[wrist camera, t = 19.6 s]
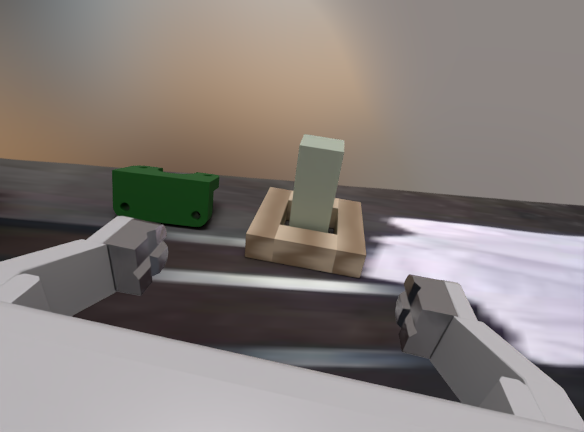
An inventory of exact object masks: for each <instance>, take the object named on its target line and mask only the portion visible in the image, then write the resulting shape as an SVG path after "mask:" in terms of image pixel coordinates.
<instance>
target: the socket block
mask: <svg viewBox="0 0 584 432" xmlns="http://www.w3.org/2000/svg"><path fill="white" fill-rule="evenodd" d="M292 199H293V191H290V190H284V189H278V188H273V187H270V189H269V191H268V193H267V195H266V197H265V199H264V201H263V202H262V204H261V206H260V208H259V210H258V212H257V214H256V216H255V218H254V220H253V222H252V224H251V225H250V227H249V229H248V231H247V233H246V246H245V257H248V258H254V259H259V260H264V261H270V262H275V263H281V264H286V265H291V266H297V267H302V268H307V269H313V270H318V271H324V272H329V273H334V274H340V275H345V276H350V277H356V278H360V275H361V272H362V268H363V265H364V261H365V258H366V249H365V240H364V230H363V221H362V211H361V202H355V201H349V200H343V199H338V198H335V199H334V204H333V209H332V214H331V219H330V224H329V228H334V234H330V233H324V232H319V231H313V230H308V229H302V228H296V227H291V226H285V225H284V224H285V221H286V220H289V221H290V214H291V206H292Z"/></svg>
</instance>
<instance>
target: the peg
mask: <svg viewBox="0 0 584 432" xmlns="http://www.w3.org/2000/svg"><path fill="white" fill-rule="evenodd" d="M343 155H344V140H338V139H331V138H324V137H319V136H312V135H304V137H303V139H302V141H301V143H300V147H299V154H298V162H297V169H296V177H295V184H294V191H293V199H292V206H291V214H290V222H289V226H291V227H296V228H302V229H308V230H313V231H319V232H324V233H328V229H329V224H330V219H331V214H332V209H333V204H334V199H335V194H336V189H337V185H338V180H339V175H340V170H341V165H342V160H343Z"/></svg>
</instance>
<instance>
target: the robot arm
mask: <svg viewBox="0 0 584 432" xmlns="http://www.w3.org/2000/svg"><path fill="white" fill-rule="evenodd" d="M166 236H167V233H166V227H165V226H164V225H162V224H158V223H153V222H149V221H144V220H140V219H134V218H131V217H126V216H117V217H116V218H114V219H113V220H112V221H110V222H109V223H108V224H107V225H105V226H104V227H103V228H101V229H100V230H99V231H97V232H96V233H95V234H93V235H92V236H91V237H89V238H88V239H87V240H82V239H81V240H77V241H73V242H70V243H66V244H63V245H59V246H55V247H52V248H48V249H45V250H41V251H38V252H34V253H30V254H27V255H23V256H20V257H16V258H12V259H9V260H5V261H2V262H0V432H584V422H583V420H582V418H581V417H580V415H579V414H578V412H577V410H576V409H575V407H574V406H573V404H572V402H571V401H570V399H569V398H568V396H567V394H566V393H565V391H564V390H563V388H562V387H560V386H559V385H558V384H557V383H556V382H554V381H553V380H552V379H551V378H550V377H548V376H547V375H546V374H545V373H543V372H542V371H541V370H540V369H539V368H537V367H536V366H535V365H534V364H533V363H531V362H530V361H529V360H528V359H527V358H525V357H524V356H523V355H522V354H521V353H519V352H518V351H517V350H516V349H515V348H513V347H512V346H511V345H510V344H509V343H507V342H506V341H505V340H504V339H503V338H501V337H500V336H499V335H498V334H496V333H495V332H494V331H493V330H492V329H490V328H489V327H488V326H487V325H486V324H484V323H483V322H479V321H478V320H477V318H476V316H475V314H474V312H473V310H472V308H471V306H470V304H469V302H468V300H467V298H466V296H465V294H464V291H463V289H462V287H461V285H460V284H458V283H456V282H450V281H444V280H436V279H431V278H426V277H421V276H415V275H410V274H409V275H408V277H407V278H406V280H405V283H404V286H405V290H406V291H404V292H402V293H401V294H400V295H399V297H398V300H397V304H396V310H395V314H396V322H397V324H398V325H399V326H400V327H401V330H400V332H399V339H400V344H401V349H402V352H404V353H408V354H412V355H416V356H421V357H425V358H429V359H430V361H431V362H432V364H433V365H434V366H435V368H436V369H437V370H438V372H439V373H440V374H441V376H442V377H443V378H444V380H445V381H446V382H447V384H448V385H449V386H450V388H451V389H452V390H453V392H454V393H455V394H456V396H457V397H458V398H459V400H460V401H461V403H458V402H453V401H449V400H444V399H440V398H435V397H431V396H426V395H421V394H417V393H412V392H408V391H403V390H399V389H394V388H390V387H385V386H381V385H376V384H372V383H367V382H363V381H358V380H354V379H349V378H345V377H340V376H336V375H332V374H327V373H323V372H318V371H314V370H309V369H305V368H300V367H296V366H291V365H287V364H282V363H278V362H273V361H269V360H264V359H260V358H255V357H251V356H246V355H242V354H237V353H233V352H228V351H224V350H219V349H215V348H210V347H206V346H201V345H197V344H192V343H188V342H183V341H179V340H174V339H170V338H165V337H161V336H156V335H152V334H147V333H143V332H138V331H134V330H129V329H125V328H120V327H116V326H111V325H107V324H102V323H98V322H93V321H89V320H84V319H80V318H75V317H71V316H72V315H74V314H76V313H78V312H80V311H82V310H83V309H85V308H87V307H89V306H91V305H93V304H95V303H96V302H98V301H100V300H102V299H104V298H106V297H108V296H109V295H111V294H113V293H115V291H118V292H123V293H129V294H134V295H139V296H141V295H142V294H143V293H144V292H145V290H146V289H147V288H148V287H149V285H150V284H151V283H152V276H154V275H156V274H158V273H160V272H161V270H162V269H163V268H164V266H165V263H166V261H167V256H168V247H167V245H166V244H165V243H164V241H163V240H164V238H165V237H166Z"/></svg>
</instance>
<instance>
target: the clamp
mask: <svg viewBox="0 0 584 432" xmlns="http://www.w3.org/2000/svg"><path fill="white" fill-rule="evenodd" d="M112 183H113V209H114V211H115V213H116V214H117V215H118V216H126V217H131V218H134V219H140V220H144V221H151V222H159V223H167V224H176V225H184V226H192V227H200V226H202V225H204V224H205V223H206V222H207V221H208V220H209V219H210V218H211V216H212V207H213V191H214V190H215V189H217V188H218V187H219V176H218V175H214V174H206V173H198V172H197V173H194V174H174V173H166V172H163V168H158V167H150V166H130V167H125V168H120V169H115V170H112ZM197 211H198V212H199V213H200V215H201V216H200V215H198V214H197Z"/></svg>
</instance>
